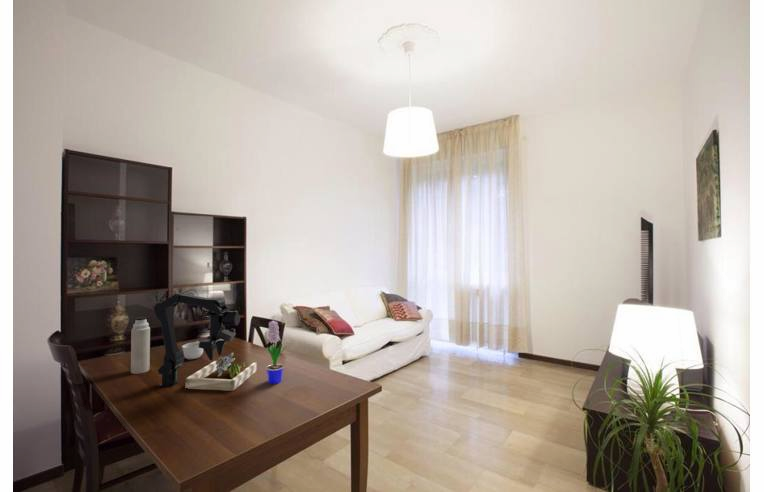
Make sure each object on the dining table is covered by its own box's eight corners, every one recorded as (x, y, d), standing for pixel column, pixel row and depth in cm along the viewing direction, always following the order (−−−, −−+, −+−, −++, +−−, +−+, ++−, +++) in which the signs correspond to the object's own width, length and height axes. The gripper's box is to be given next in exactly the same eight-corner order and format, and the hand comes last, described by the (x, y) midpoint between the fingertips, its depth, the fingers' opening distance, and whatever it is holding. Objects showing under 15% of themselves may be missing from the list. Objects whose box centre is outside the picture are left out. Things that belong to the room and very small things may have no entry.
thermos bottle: (139, 367, 182) (140, 315, 182) (153, 368, 181) (154, 316, 181) (126, 373, 174) (127, 318, 174) (141, 374, 173) (142, 319, 173)
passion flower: (219, 388, 172) (209, 364, 176) (242, 377, 181) (232, 354, 185) (226, 380, 164) (215, 355, 168) (249, 369, 173) (239, 346, 177)
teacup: (196, 361, 193) (196, 347, 193) (177, 360, 194) (178, 346, 194) (209, 353, 207) (209, 340, 207) (192, 353, 208) (192, 339, 208)
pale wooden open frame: (233, 390, 156) (233, 380, 156) (185, 388, 157) (185, 378, 157) (256, 370, 180) (256, 362, 180) (214, 369, 182) (214, 360, 182)
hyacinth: (281, 386, 162) (282, 323, 161) (261, 384, 164) (262, 321, 163) (289, 379, 170) (290, 319, 170) (271, 377, 172) (272, 318, 172)
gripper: (222, 330, 152) (221, 365, 152) (241, 321, 170) (241, 352, 170) (198, 329, 152) (197, 364, 152) (220, 320, 171) (219, 351, 171)
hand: (215, 357), depth 162 cm, fingers open, 7 cm apart
